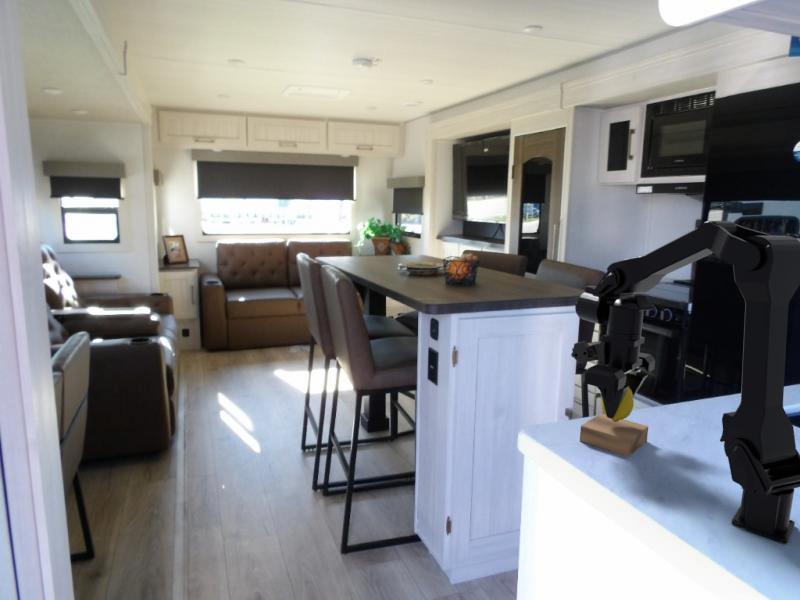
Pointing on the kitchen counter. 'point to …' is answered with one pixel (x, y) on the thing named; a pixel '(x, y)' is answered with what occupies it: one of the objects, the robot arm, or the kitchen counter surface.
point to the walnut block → (614, 434)
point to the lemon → (622, 406)
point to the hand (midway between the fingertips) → (616, 413)
